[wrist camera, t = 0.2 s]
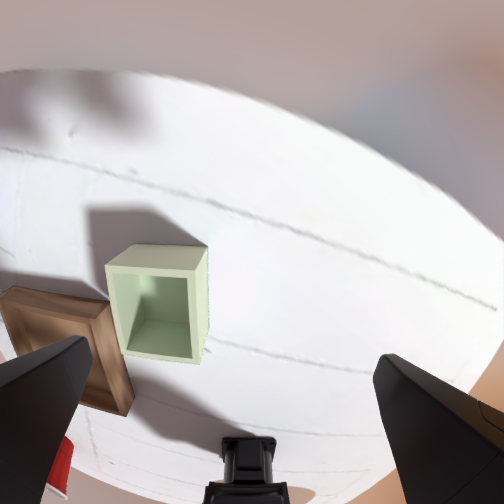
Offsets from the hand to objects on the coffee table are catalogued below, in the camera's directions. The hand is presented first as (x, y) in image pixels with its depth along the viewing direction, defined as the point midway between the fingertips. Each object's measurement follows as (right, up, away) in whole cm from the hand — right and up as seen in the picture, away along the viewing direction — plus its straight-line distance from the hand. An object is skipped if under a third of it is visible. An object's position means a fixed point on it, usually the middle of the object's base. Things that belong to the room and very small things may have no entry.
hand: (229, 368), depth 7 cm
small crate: (-6, 0, +14) cm, 15 cm away
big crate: (-19, -7, +16) cm, 26 cm away
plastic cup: (-33, -30, +24) cm, 51 cm away
